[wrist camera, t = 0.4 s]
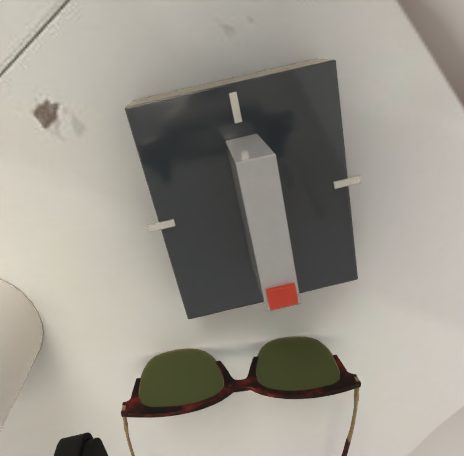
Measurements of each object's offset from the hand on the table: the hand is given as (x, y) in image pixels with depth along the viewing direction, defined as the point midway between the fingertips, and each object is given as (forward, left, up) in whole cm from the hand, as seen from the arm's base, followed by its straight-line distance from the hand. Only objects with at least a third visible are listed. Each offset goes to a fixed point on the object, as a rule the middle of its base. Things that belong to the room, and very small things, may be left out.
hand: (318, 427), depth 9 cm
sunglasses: (+18, -3, -17) cm, 25 cm away
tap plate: (0, +1, -17) cm, 17 cm away
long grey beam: (0, +1, -14) cm, 14 cm away
